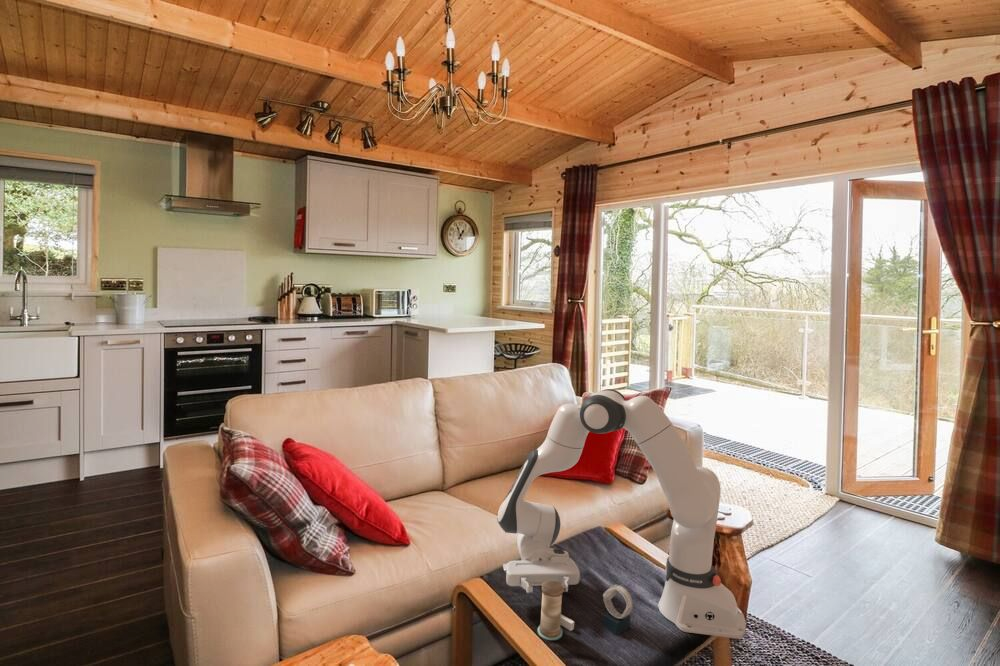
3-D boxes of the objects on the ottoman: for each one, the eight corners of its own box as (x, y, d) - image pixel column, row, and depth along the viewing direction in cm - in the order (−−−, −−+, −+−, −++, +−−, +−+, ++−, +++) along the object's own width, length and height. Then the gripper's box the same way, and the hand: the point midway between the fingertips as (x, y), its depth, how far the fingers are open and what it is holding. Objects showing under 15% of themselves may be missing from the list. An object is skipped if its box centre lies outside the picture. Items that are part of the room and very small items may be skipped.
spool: (562, 626, 147) (565, 583, 146) (557, 639, 142) (560, 595, 140) (542, 621, 149) (544, 579, 147) (536, 634, 144) (539, 590, 142)
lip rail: (549, 618, 151) (550, 611, 151) (552, 616, 152) (552, 609, 152) (571, 631, 146) (571, 623, 146) (573, 628, 147) (574, 621, 147)
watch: (611, 614, 154) (613, 576, 152) (635, 630, 148) (638, 591, 146) (597, 622, 150) (599, 583, 149) (621, 638, 144) (624, 598, 143)
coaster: (565, 627, 147) (565, 626, 147) (559, 643, 141) (559, 641, 141) (541, 621, 149) (541, 620, 149) (534, 636, 143) (534, 635, 143)
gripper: (502, 552, 161) (509, 579, 147) (572, 550, 164) (585, 577, 150) (501, 573, 162) (507, 602, 148) (571, 571, 164) (584, 600, 151)
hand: (547, 590), depth 149 cm, fingers open, 8 cm apart
